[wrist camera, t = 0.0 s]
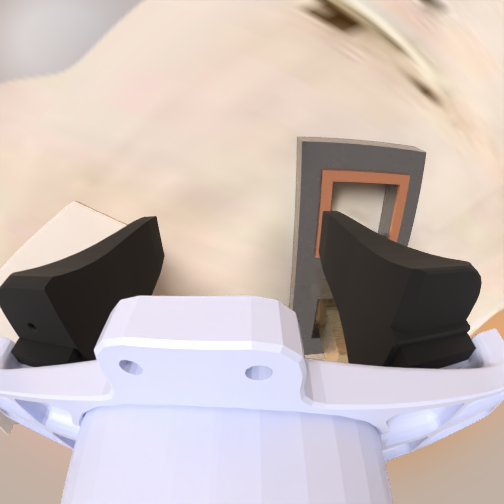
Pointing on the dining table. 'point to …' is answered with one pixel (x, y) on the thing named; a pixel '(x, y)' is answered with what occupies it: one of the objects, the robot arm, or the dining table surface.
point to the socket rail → (319, 199)
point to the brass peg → (331, 331)
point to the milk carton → (55, 253)
